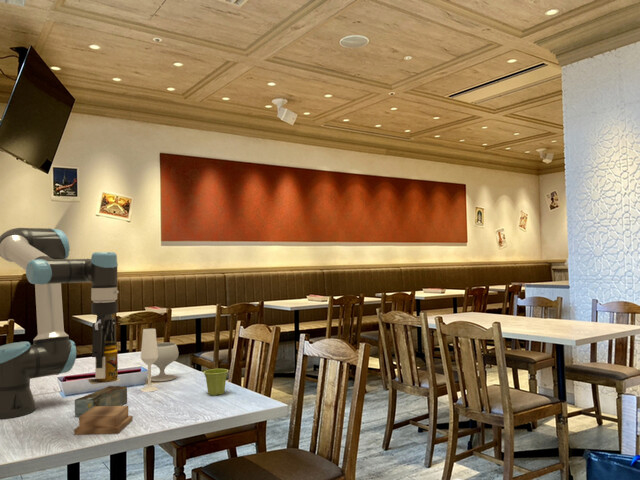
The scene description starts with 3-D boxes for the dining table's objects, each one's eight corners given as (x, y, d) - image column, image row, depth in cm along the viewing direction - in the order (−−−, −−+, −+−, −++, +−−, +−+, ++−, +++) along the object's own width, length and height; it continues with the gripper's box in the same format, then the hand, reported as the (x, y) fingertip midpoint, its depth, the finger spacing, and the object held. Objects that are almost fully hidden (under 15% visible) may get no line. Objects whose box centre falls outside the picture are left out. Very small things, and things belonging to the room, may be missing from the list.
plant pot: (199, 396, 201) (198, 372, 201) (211, 390, 210) (211, 368, 210) (221, 397, 198) (221, 374, 199) (232, 391, 207) (232, 369, 208)
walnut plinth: (74, 434, 158) (74, 417, 158) (91, 421, 171) (91, 405, 171) (118, 433, 158) (118, 416, 158) (132, 420, 171) (132, 404, 171)
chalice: (183, 375, 238) (183, 342, 238) (171, 382, 224) (171, 347, 224) (153, 375, 239) (153, 342, 240) (139, 382, 225) (139, 347, 226)
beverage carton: (73, 417, 176) (73, 397, 177) (109, 402, 195) (109, 384, 195) (93, 418, 174) (93, 398, 175) (128, 403, 193) (128, 385, 193)
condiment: (121, 381, 164) (121, 341, 164) (91, 384, 159) (91, 344, 160) (115, 376, 170) (115, 339, 170) (87, 380, 165) (87, 341, 166)
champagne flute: (161, 387, 215) (160, 328, 216) (154, 391, 209) (153, 330, 210) (145, 387, 216) (144, 328, 217) (137, 391, 209) (137, 330, 210)
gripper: (105, 303, 157) (105, 382, 156) (126, 299, 176) (127, 369, 175) (79, 304, 156) (79, 383, 155) (103, 299, 175) (103, 370, 174)
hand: (104, 375), depth 165 cm, fingers closed on condiment, 6 cm apart
